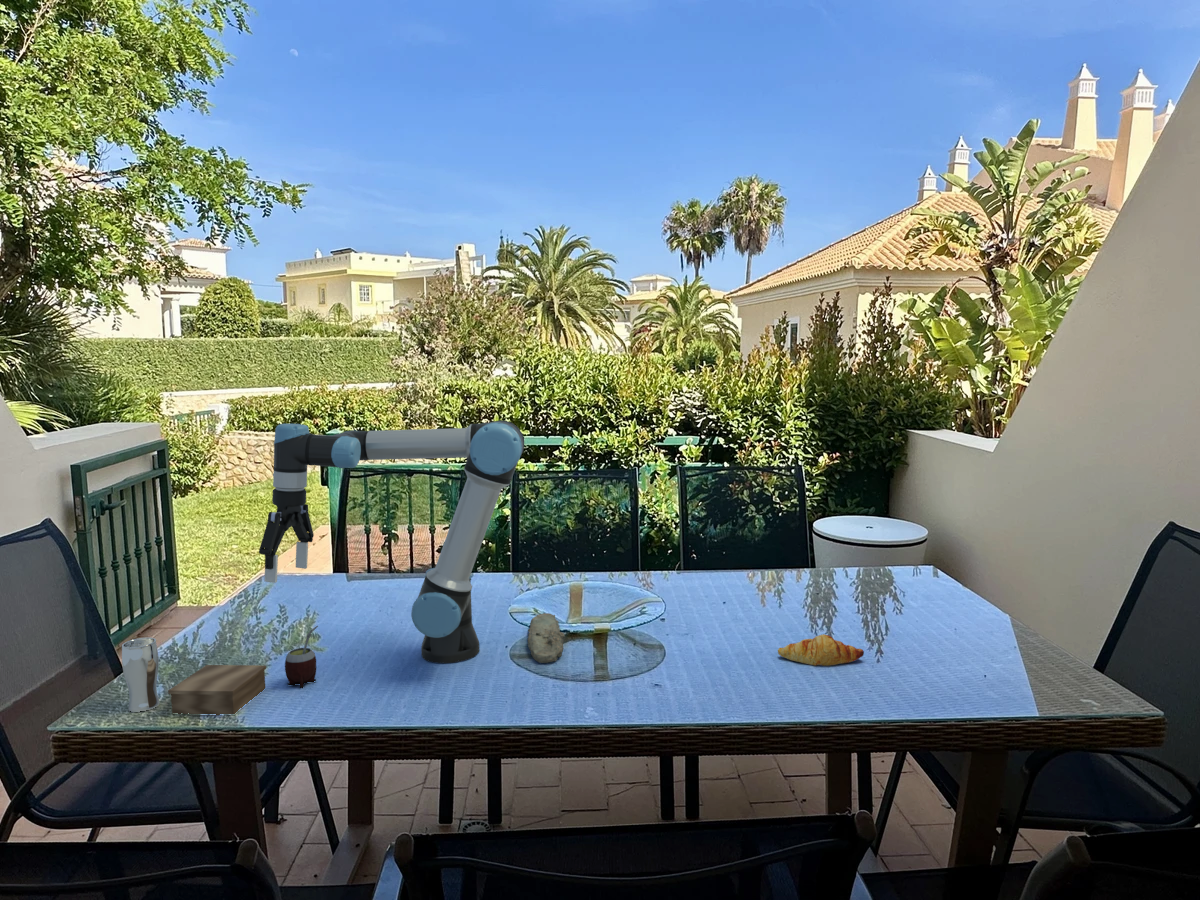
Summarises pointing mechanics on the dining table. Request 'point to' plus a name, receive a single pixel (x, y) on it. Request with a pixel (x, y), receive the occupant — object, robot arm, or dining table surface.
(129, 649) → the beer glass
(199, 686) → the walnut box
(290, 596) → the dining table surface
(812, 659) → the croissant
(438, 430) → the robot arm
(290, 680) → the mate gourd
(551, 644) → the elongated rock
